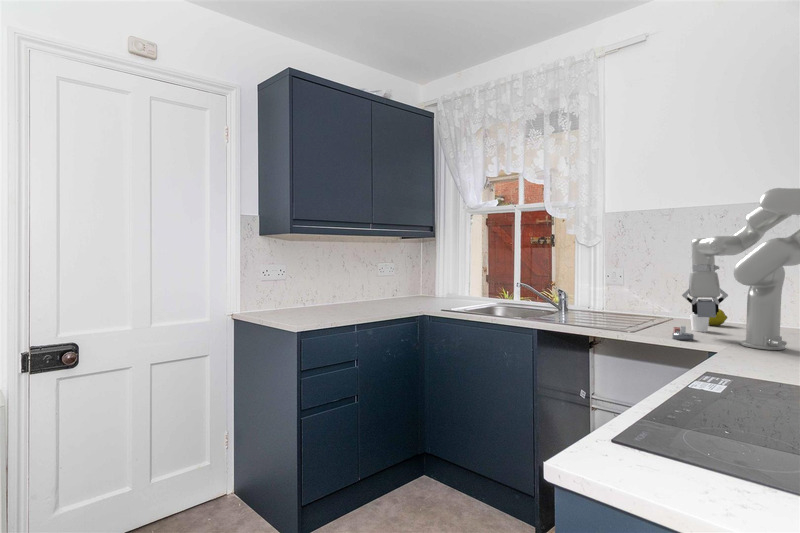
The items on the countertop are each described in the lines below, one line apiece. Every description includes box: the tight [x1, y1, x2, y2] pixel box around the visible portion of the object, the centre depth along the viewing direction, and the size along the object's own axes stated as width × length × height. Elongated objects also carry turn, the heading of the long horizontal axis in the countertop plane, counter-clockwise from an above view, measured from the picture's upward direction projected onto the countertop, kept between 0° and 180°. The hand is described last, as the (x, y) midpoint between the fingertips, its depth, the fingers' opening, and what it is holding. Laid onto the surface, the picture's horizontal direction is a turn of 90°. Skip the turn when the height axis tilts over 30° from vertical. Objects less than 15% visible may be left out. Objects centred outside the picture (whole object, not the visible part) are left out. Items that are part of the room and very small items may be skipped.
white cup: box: [690, 313, 709, 333], centre depth 197 cm, size 7×7×7 cm
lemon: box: [708, 308, 728, 327], centre depth 211 cm, size 11×8×8 cm
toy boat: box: [671, 325, 695, 342], centre depth 185 cm, size 20×7×5 cm, turn 155°
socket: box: [695, 298, 716, 317], centre depth 184 cm, size 6×6×7 cm
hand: (705, 313), depth 184 cm, fingers closed on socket, 6 cm apart
